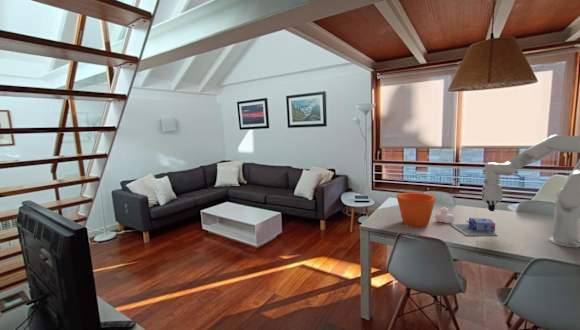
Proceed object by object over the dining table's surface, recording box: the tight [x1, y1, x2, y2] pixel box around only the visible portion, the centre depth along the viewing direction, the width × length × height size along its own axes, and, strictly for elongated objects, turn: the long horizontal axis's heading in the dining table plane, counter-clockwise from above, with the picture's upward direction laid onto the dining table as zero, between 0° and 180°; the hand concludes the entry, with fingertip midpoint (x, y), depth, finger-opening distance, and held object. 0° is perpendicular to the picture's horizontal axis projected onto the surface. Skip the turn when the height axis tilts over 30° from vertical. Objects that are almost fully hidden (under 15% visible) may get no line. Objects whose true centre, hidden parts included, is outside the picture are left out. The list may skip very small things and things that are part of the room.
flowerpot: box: [396, 191, 437, 228], centre depth 192 cm, size 25×25×20 cm
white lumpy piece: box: [434, 206, 455, 224], centre depth 195 cm, size 12×8×11 cm
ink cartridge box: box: [466, 217, 496, 232], centre depth 179 cm, size 10×6×14 cm
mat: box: [449, 223, 498, 237], centre depth 177 cm, size 20×18×1 cm
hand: (491, 210), depth 174 cm, fingers closed
